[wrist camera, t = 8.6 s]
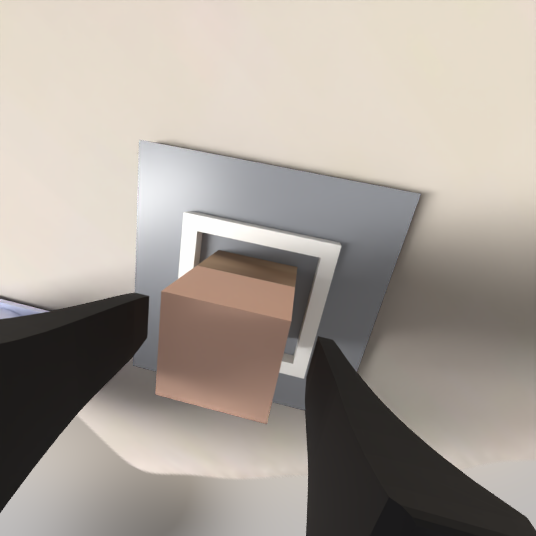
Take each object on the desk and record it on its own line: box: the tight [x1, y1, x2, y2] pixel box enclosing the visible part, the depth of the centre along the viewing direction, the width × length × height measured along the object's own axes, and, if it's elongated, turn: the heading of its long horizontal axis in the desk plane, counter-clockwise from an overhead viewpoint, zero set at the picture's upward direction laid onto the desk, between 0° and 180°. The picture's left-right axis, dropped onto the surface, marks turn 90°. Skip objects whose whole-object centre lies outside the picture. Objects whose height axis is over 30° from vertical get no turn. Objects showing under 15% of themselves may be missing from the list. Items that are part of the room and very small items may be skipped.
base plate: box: [133, 140, 421, 410], centre depth 15 cm, size 14×14×2 cm
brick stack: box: [155, 250, 297, 424], centre depth 12 cm, size 4×4×6 cm
